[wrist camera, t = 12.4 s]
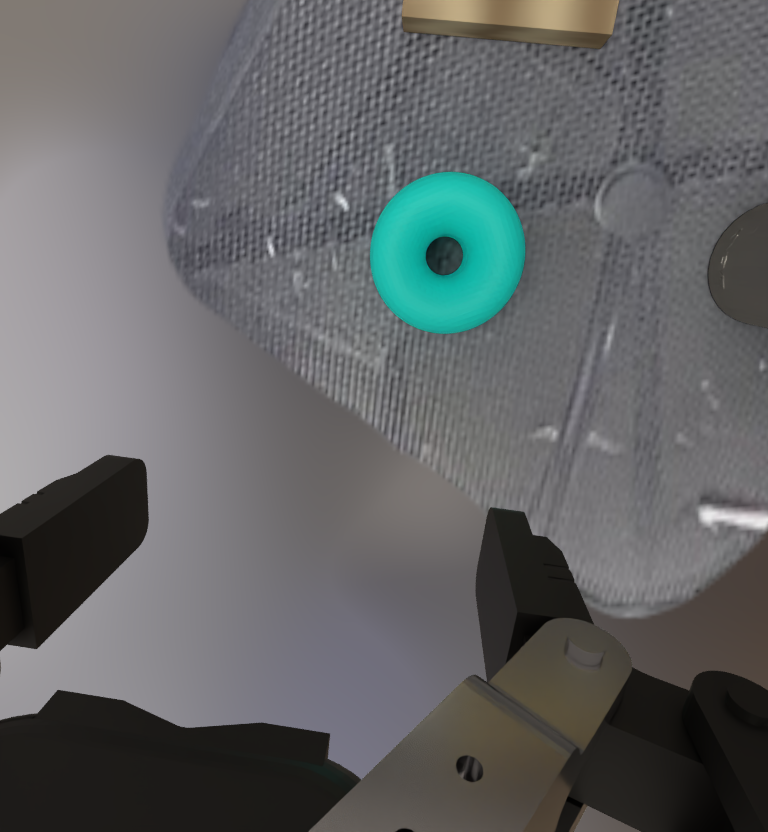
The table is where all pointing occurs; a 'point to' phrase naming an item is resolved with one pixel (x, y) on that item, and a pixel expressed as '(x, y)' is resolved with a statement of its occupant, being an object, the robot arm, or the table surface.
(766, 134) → the table surface
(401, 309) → the donuts
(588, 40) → the stacking base
